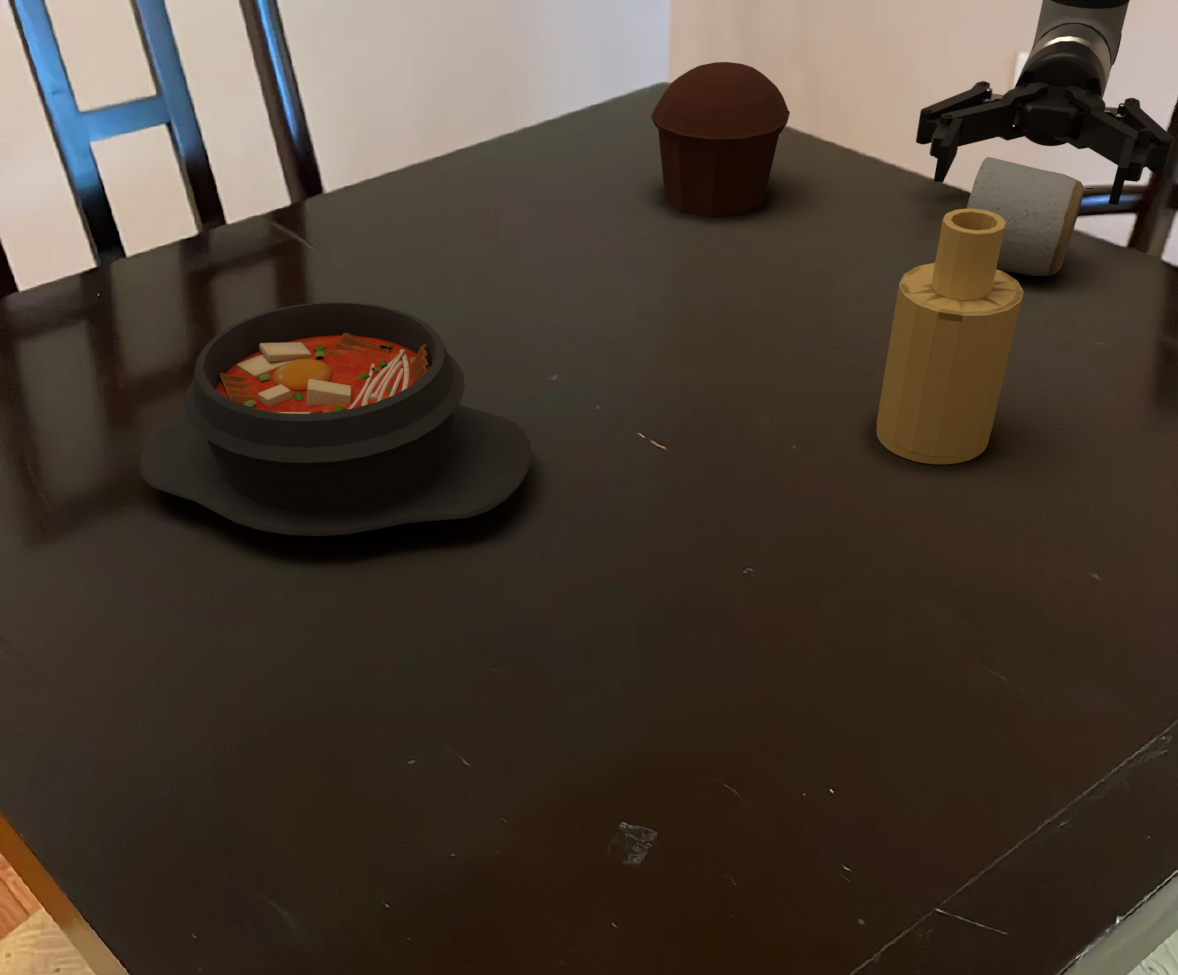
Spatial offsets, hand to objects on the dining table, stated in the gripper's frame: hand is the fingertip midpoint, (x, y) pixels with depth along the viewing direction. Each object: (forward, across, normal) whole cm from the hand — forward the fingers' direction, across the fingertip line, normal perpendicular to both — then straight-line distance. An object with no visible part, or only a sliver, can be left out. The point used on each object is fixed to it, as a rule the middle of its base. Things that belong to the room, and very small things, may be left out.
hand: (1028, 175), depth 105 cm
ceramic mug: (+2, 0, -6) cm, 6 cm away
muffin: (-3, +26, -6) cm, 27 cm away
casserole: (+49, +36, -6) cm, 61 cm away
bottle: (+31, +1, -6) cm, 31 cm away
